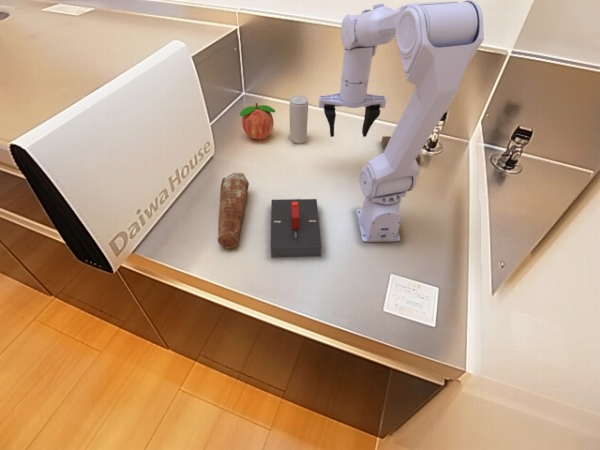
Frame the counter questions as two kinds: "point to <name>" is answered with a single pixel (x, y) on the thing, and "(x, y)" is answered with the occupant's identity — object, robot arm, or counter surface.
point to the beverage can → (298, 119)
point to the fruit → (257, 121)
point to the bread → (231, 208)
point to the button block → (385, 141)
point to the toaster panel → (295, 240)
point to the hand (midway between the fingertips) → (347, 134)
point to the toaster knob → (295, 215)
